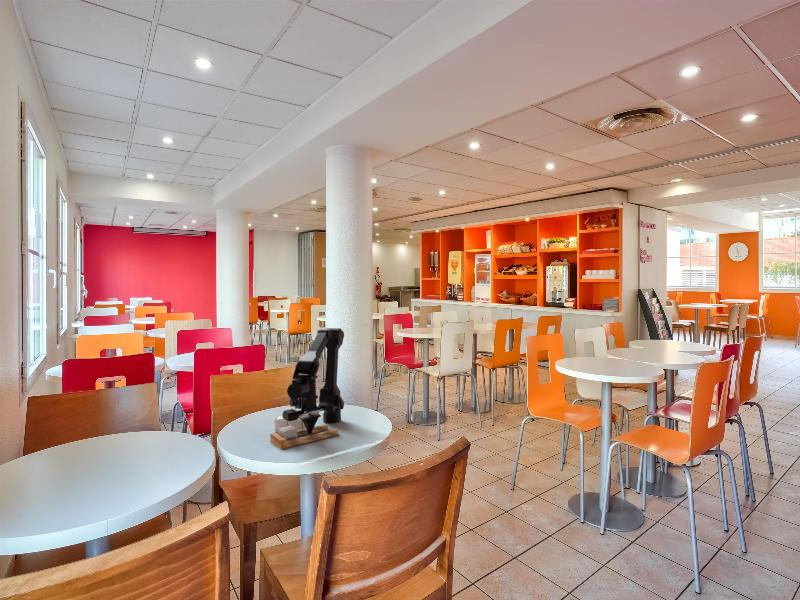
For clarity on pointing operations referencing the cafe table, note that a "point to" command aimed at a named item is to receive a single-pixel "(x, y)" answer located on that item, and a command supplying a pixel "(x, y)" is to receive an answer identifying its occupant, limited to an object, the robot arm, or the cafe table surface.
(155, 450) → the cafe table surface
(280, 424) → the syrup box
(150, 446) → the cafe table surface
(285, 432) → the grey pink cube
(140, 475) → the cafe table surface
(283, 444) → the brown shallow tray
